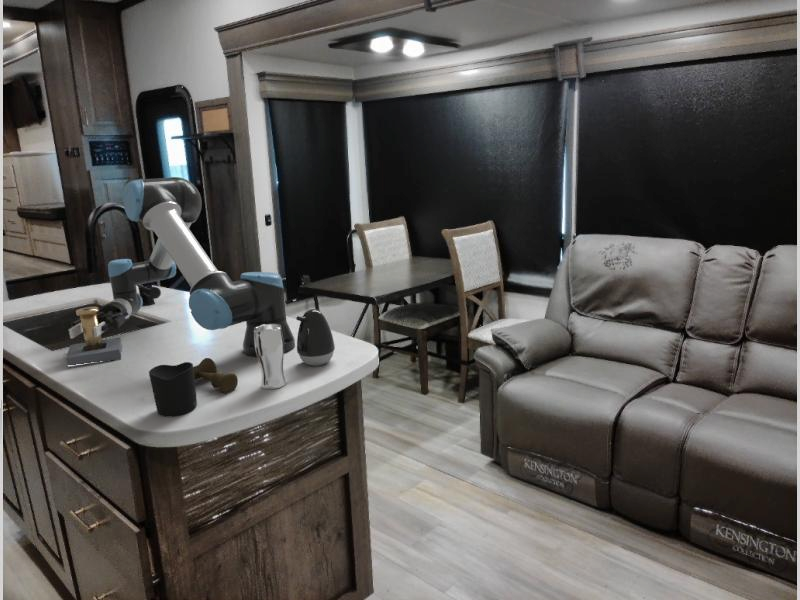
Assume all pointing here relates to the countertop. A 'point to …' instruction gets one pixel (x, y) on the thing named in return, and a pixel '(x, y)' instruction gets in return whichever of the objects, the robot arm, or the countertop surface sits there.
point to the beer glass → (270, 355)
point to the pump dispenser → (314, 338)
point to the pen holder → (174, 388)
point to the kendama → (215, 376)
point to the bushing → (90, 327)
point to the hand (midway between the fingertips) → (83, 333)
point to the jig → (94, 352)
